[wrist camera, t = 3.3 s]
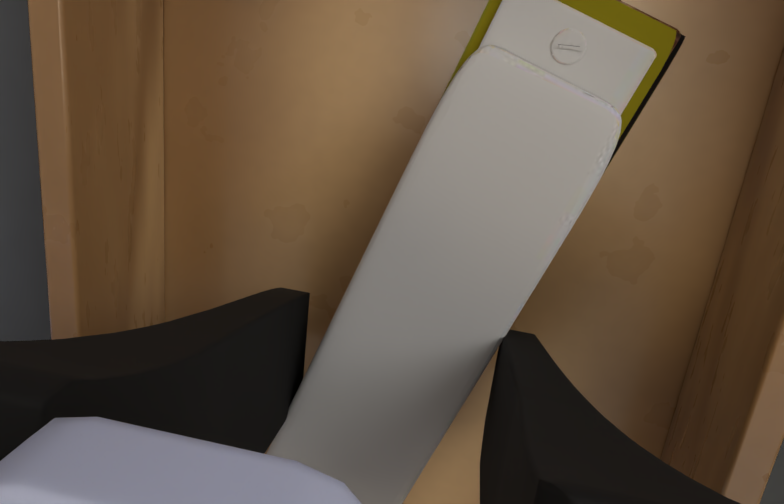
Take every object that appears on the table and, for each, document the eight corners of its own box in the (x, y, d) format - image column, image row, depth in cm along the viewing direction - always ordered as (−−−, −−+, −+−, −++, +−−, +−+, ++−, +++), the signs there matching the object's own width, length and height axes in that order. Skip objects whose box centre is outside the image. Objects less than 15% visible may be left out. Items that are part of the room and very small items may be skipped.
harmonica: (338, 593, 16) (314, 666, 14) (230, 535, 16) (192, 599, 14) (677, 37, 11) (709, 37, 9) (515, -45, 11) (513, -62, 9)
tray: (154, 595, 18) (76, 715, 15) (144, -217, 12) (3, -313, 8) (603, 713, 16) (622, 876, 13) (879, -165, 10) (1047, -259, 7)
